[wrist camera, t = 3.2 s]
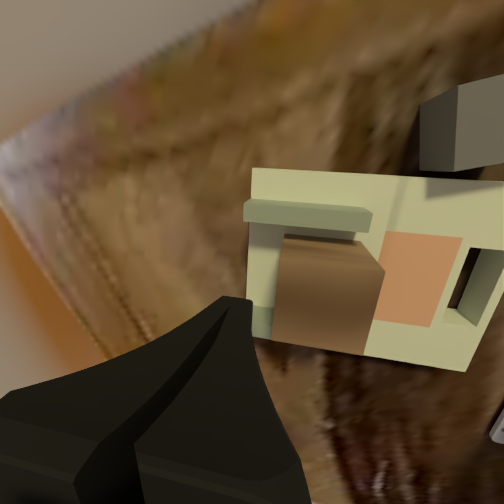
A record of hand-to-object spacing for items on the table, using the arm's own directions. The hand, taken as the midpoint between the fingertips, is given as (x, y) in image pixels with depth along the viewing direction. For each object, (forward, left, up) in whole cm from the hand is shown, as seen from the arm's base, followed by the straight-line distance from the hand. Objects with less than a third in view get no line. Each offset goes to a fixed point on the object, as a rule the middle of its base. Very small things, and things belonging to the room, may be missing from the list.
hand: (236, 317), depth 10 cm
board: (0, -7, -8) cm, 11 cm away
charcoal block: (+8, -10, -8) cm, 16 cm away
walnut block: (0, -4, -6) cm, 7 cm away
